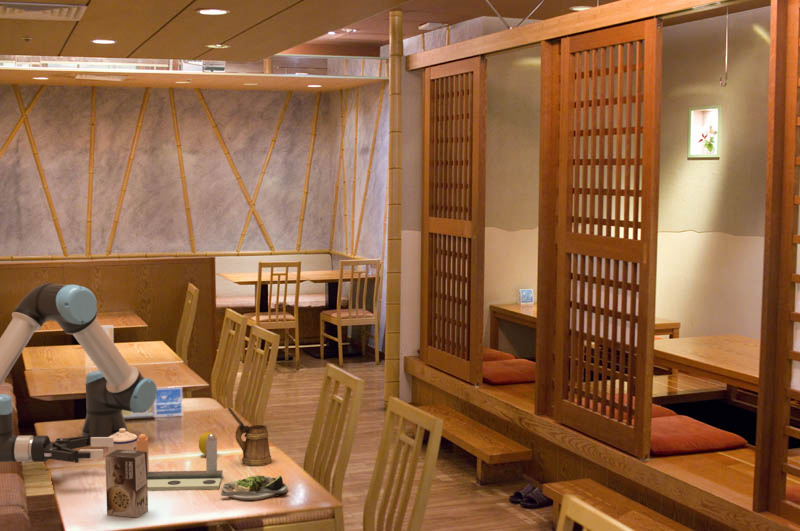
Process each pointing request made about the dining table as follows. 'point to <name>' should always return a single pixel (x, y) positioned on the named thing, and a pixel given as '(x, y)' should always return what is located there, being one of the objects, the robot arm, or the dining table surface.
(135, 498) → the coffee box
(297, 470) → the dining table surface
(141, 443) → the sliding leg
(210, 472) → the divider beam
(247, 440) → the wooden mug
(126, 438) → the teacup with lid
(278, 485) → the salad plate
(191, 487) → the hole board
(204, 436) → the lemon
